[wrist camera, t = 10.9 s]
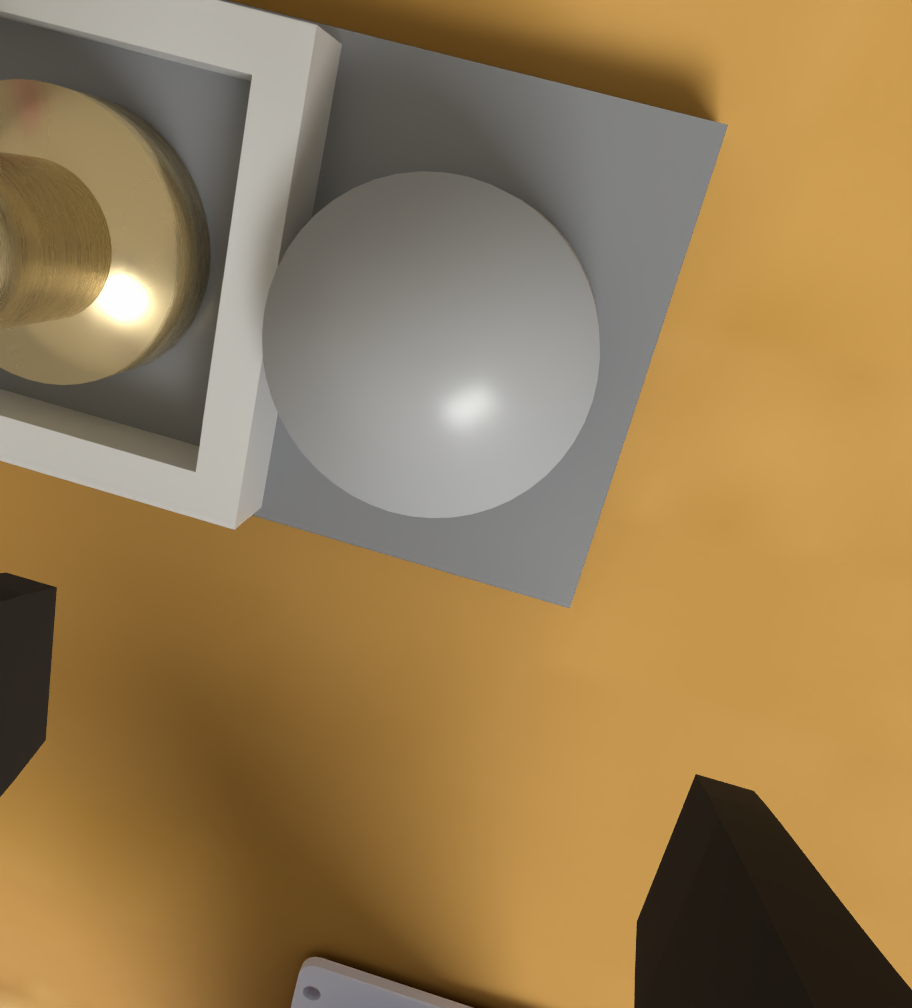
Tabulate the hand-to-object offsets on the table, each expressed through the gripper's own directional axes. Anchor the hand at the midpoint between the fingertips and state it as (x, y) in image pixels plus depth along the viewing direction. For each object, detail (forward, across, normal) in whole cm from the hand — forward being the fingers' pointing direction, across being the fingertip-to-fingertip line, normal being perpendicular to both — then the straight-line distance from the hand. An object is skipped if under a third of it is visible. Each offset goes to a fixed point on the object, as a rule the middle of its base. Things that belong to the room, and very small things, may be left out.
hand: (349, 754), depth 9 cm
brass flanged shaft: (+9, +9, -3) cm, 13 cm away
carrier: (+10, +6, -3) cm, 12 cm away
